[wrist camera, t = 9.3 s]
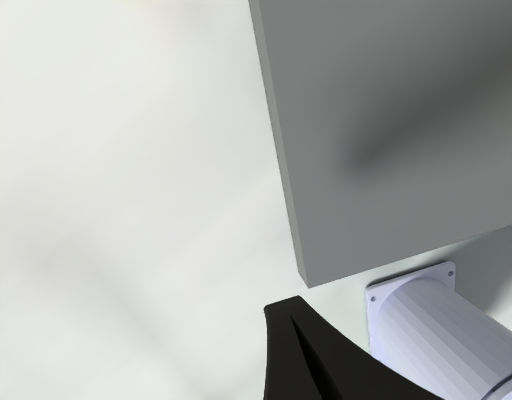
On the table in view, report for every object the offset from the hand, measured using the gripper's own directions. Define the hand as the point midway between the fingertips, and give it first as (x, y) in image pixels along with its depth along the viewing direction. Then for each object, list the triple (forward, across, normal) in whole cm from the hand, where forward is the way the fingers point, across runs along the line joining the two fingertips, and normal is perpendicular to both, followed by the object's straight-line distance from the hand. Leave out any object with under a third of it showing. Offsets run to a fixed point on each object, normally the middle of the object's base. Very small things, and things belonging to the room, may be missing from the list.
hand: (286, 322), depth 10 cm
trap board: (+9, -16, -4) cm, 19 cm away
